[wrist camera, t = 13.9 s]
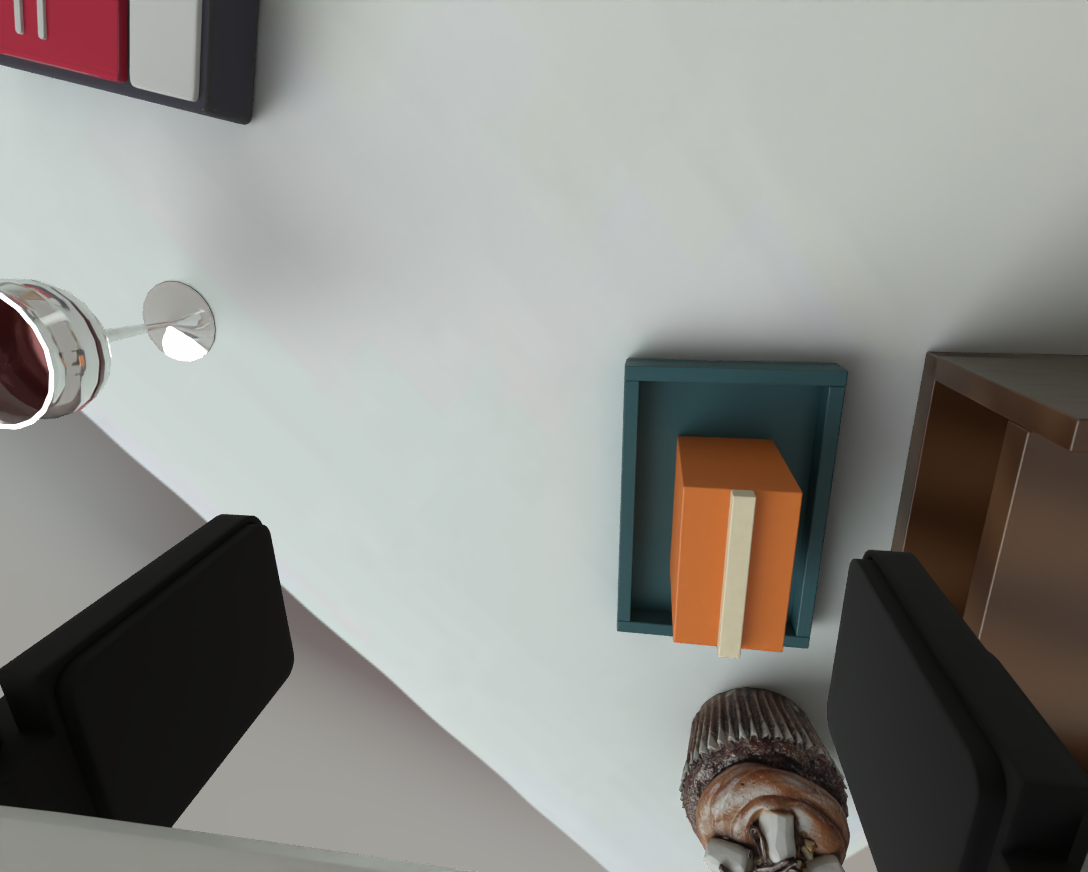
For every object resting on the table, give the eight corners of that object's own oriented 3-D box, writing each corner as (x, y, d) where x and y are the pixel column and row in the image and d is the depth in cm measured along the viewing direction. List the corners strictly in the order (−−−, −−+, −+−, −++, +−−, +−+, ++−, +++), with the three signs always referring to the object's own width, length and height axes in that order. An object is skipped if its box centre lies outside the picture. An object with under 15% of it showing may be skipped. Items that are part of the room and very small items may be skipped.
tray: (626, 358, 35) (624, 365, 33) (836, 362, 34) (848, 371, 32) (618, 612, 40) (616, 631, 38) (800, 628, 39) (808, 649, 37)
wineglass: (209, 258, 38) (19, 270, 26) (241, 368, 40) (77, 423, 28) (114, 274, 39) (-104, 292, 28) (150, 380, 41) (-41, 437, 30)
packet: (677, 435, 36) (683, 493, 28) (772, 439, 35) (807, 499, 27) (669, 566, 38) (673, 653, 30) (758, 572, 37) (786, 663, 29)
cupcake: (860, 730, 40) (923, 883, 31) (762, 815, 44) (792, 976, 34) (738, 650, 40) (764, 779, 30) (648, 742, 43) (647, 883, 34)
